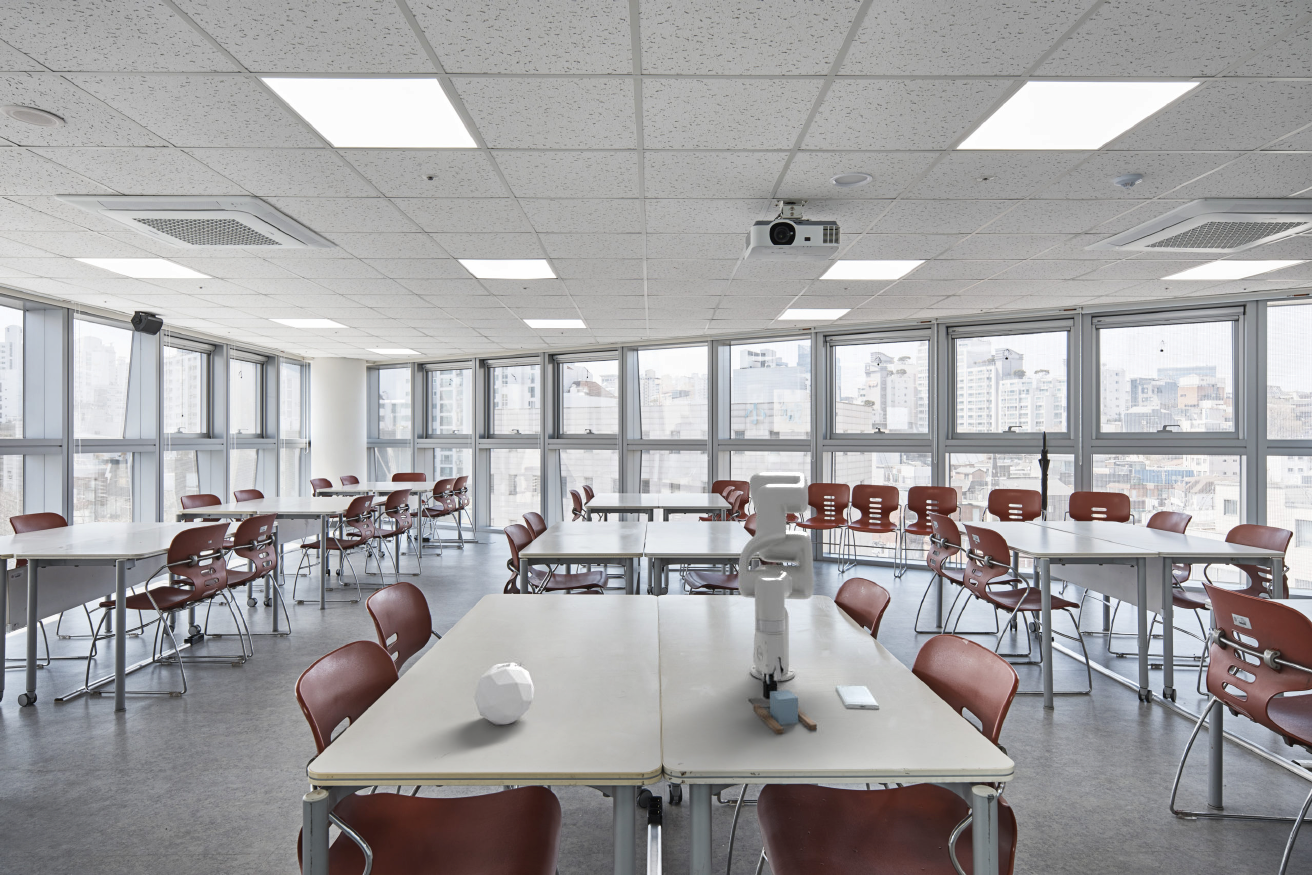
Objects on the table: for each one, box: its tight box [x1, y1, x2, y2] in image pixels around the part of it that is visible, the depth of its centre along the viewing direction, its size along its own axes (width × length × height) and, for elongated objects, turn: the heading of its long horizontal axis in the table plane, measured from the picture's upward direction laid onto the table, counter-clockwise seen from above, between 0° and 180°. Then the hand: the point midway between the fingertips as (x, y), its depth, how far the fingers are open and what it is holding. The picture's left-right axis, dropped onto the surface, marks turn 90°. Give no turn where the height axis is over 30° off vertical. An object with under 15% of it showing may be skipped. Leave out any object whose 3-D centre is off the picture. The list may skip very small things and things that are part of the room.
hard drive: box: [835, 685, 880, 710], centre depth 161 cm, size 2×8×12 cm
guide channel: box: [747, 696, 818, 735], centre depth 152 cm, size 20×10×1 cm, turn 13°
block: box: [769, 689, 799, 726], centre depth 149 cm, size 5×5×6 cm
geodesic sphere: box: [473, 661, 535, 725], centre depth 149 cm, size 15×14×14 cm
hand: (770, 697), depth 156 cm, fingers closed
